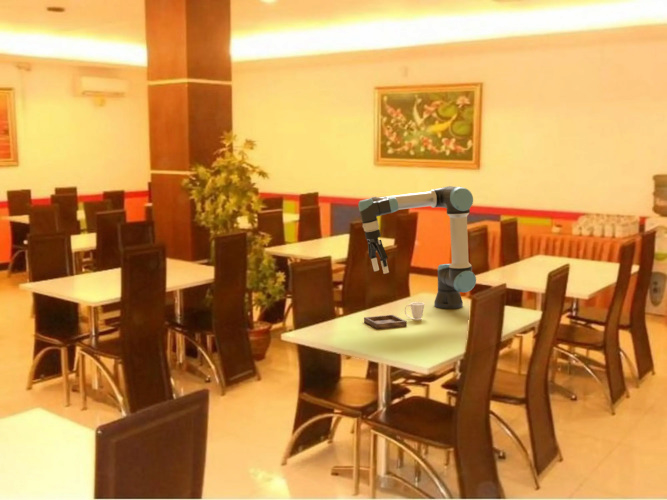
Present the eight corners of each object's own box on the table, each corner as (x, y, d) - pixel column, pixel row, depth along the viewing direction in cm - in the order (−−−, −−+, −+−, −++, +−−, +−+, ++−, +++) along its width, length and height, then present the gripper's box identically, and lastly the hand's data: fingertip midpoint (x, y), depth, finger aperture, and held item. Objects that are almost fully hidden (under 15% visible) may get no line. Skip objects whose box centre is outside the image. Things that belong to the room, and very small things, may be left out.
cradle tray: (392, 319, 353) (392, 314, 353) (406, 326, 339) (406, 321, 339) (364, 322, 348) (364, 317, 348) (377, 329, 334) (377, 324, 333)
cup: (422, 321, 349) (422, 305, 347) (402, 320, 352) (402, 304, 351) (425, 318, 355) (426, 302, 354) (406, 317, 359) (406, 301, 358)
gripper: (356, 231, 360) (366, 271, 363) (373, 232, 336) (383, 276, 339) (370, 228, 362) (379, 268, 365) (387, 229, 338) (397, 271, 341)
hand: (381, 272), depth 352 cm, fingers open, 13 cm apart
